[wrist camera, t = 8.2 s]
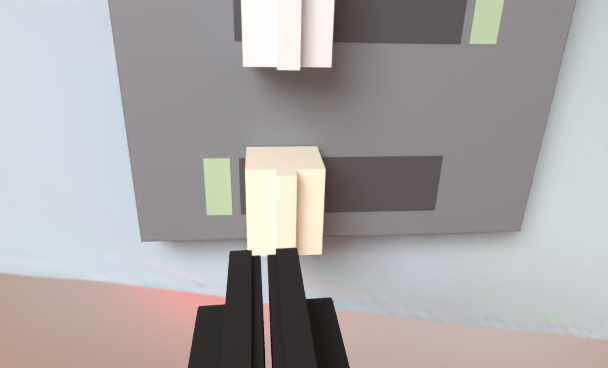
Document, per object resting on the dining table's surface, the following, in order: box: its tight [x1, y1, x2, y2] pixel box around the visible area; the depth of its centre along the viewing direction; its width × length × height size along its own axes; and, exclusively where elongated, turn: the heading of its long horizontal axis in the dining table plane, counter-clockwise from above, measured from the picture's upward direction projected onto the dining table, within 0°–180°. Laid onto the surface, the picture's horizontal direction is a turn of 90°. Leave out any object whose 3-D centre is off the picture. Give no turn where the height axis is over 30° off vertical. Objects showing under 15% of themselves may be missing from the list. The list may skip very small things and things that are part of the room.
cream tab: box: [245, 146, 326, 256], centre depth 25 cm, size 4×5×4 cm
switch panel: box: [108, 0, 576, 242], centre depth 26 cm, size 24×17×2 cm
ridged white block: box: [241, 0, 334, 70], centre depth 21 cm, size 4×5×4 cm
